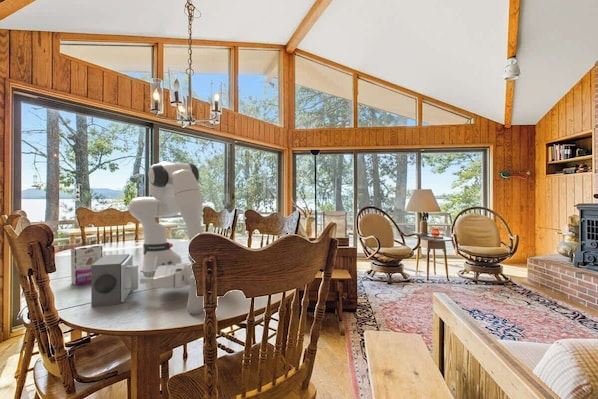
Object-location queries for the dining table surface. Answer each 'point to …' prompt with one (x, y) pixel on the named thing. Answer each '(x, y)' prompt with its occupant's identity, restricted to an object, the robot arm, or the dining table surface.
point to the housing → (106, 280)
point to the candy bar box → (84, 262)
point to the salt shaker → (194, 299)
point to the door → (128, 277)
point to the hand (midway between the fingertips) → (142, 277)
